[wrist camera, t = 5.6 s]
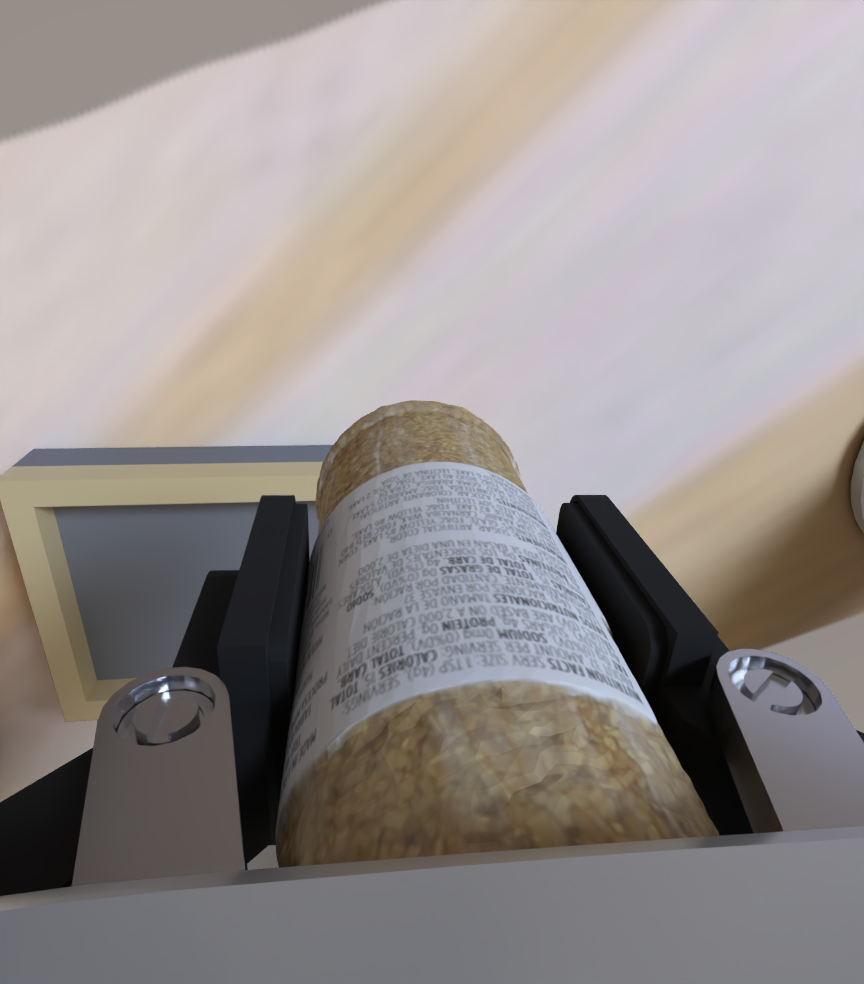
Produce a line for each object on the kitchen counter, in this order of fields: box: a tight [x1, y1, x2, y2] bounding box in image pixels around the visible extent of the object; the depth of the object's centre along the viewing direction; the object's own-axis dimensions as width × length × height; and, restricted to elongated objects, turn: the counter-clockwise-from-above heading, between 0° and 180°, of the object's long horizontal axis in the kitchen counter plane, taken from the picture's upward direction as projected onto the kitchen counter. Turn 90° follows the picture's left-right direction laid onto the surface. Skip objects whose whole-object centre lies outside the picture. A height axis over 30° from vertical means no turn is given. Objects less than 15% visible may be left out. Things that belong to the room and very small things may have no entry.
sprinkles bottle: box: [276, 401, 720, 868], centre depth 8 cm, size 5×5×14 cm
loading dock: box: [0, 445, 333, 722], centre depth 31 cm, size 18×13×4 cm
